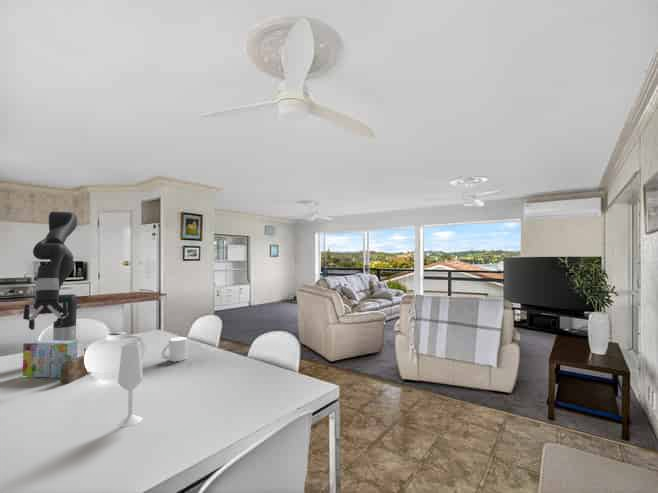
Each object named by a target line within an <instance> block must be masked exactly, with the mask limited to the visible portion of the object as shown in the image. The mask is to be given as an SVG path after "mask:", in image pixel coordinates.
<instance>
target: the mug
mask: <svg viewBox="0 0 658 493" xmlns="http://www.w3.org/2000/svg"><path fill="white" fill-rule="evenodd" d="M166 350H168V354H169V355H166ZM161 356H162V358H163V359H164V360H169V362H171V361H173V362H172V363H177V362H176V361H179V362H183V361H185V359H186V360H187V359H188V338H187V337H186V336H185V337H184V336H178V337H172V338H170V339H169V340H168V343H166V345H165V346H164V348H163V349H162V351H161ZM182 360H183V361H182Z"/></svg>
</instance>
